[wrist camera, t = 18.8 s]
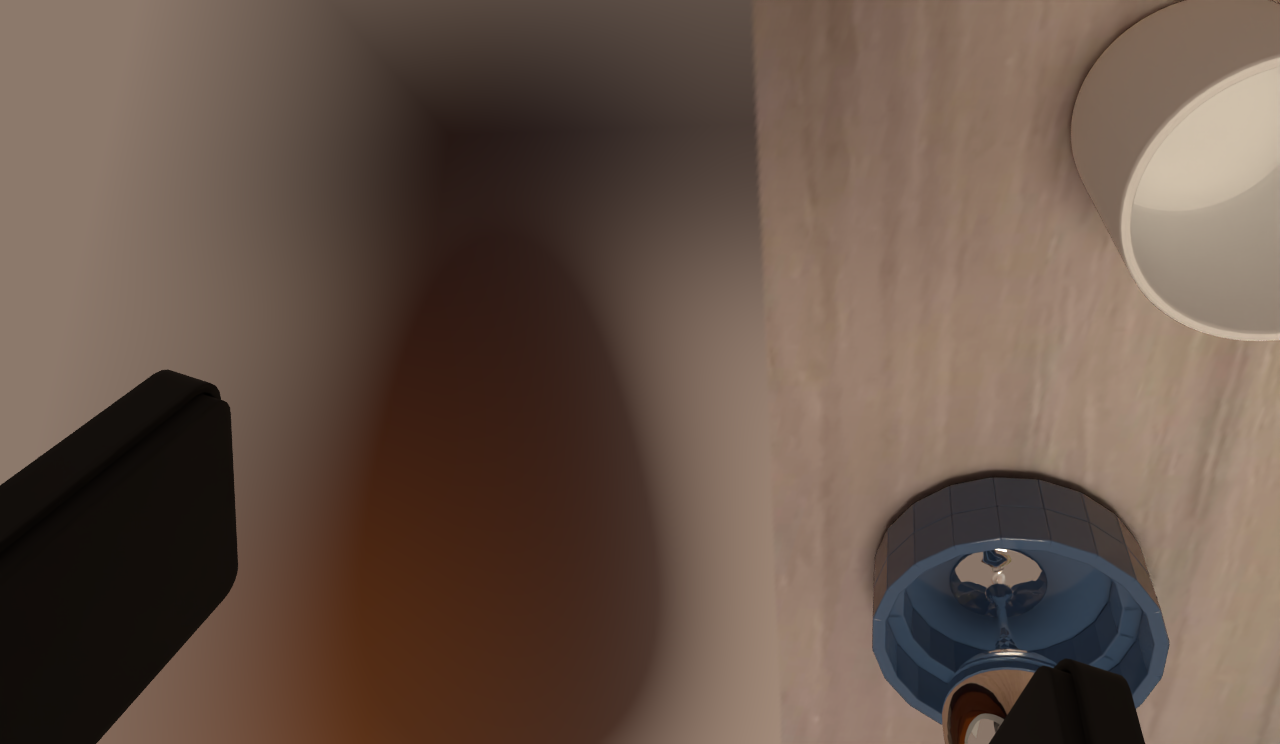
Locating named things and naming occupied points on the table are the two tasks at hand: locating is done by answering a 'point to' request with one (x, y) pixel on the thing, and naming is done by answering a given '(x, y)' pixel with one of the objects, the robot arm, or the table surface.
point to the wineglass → (1003, 672)
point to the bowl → (1056, 628)
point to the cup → (1191, 161)
